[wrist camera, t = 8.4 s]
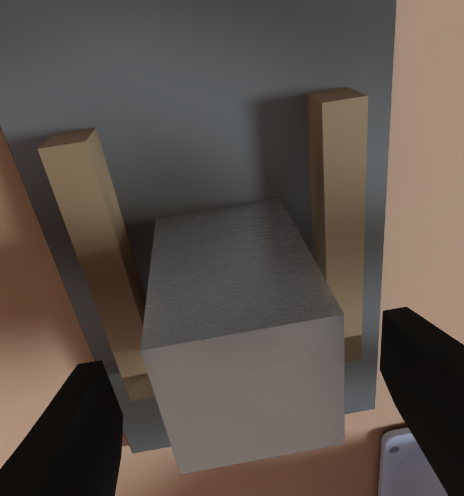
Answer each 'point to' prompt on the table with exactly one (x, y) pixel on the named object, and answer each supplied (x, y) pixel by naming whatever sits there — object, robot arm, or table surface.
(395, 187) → the table surface
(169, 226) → the aluminium block
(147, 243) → the dock
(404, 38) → the table surface
